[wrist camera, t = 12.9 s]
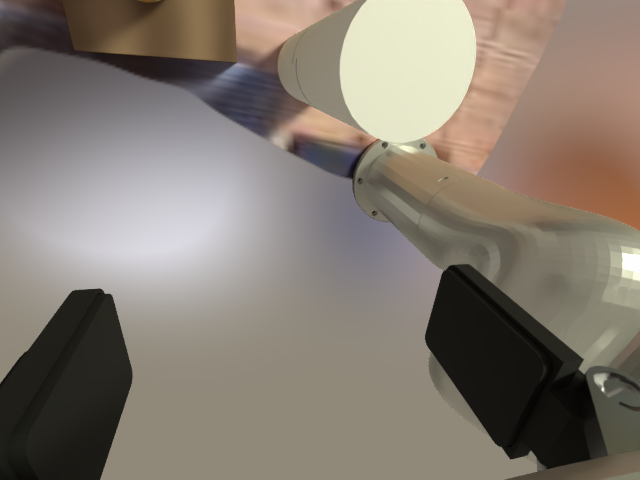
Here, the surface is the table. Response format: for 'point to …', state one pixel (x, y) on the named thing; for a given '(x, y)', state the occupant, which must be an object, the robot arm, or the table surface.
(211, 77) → the table surface
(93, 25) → the walnut plinth
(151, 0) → the sauce bottle
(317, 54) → the cylindrical container
